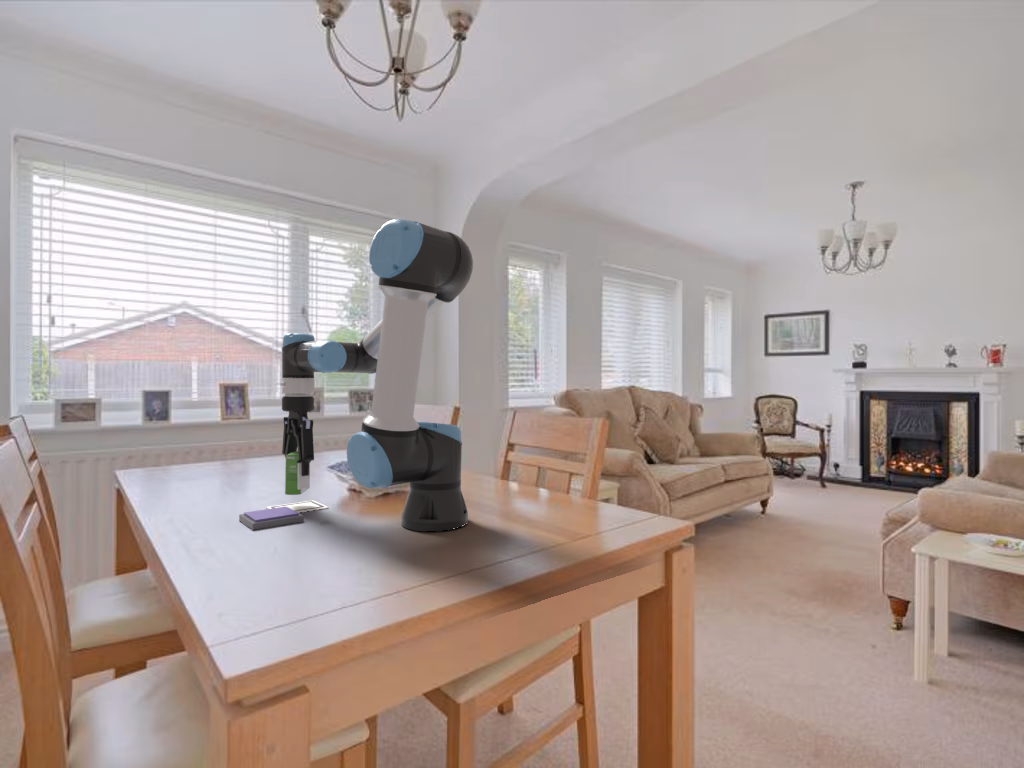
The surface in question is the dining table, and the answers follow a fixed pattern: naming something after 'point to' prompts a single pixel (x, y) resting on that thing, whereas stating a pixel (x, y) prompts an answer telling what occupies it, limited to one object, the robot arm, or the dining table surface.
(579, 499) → the dining table surface
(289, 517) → the ink pad
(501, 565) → the dining table surface
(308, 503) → the print sheet
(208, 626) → the dining table surface
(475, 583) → the dining table surface
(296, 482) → the ink box
